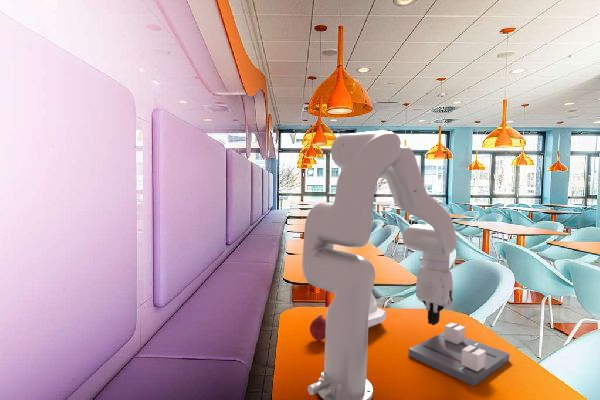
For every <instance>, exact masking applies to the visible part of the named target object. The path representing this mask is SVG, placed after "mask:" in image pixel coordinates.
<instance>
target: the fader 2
mask: <svg viewBox="0 0 600 400" xmlns="http://www.w3.org/2000/svg"><path fill="white" fill-rule="evenodd" d="M485 357H486V351H484V350H482V349H479V348H478V347H474V346H471V345H469V346H467V347H465V348H464V349H462V361H461V365H463V366H465V367H468V368H470V369H472V370H475V371H477V372H478V371H479V370H481V369H482V368H483V367H485Z"/></svg>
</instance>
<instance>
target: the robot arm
mask: <svg viewBox="0 0 600 400" xmlns="http://www.w3.org/2000/svg"><path fill="white" fill-rule="evenodd" d="M330 147H331V148H330V153H331V158H332V160H333V162H334V164H335V165H336V166H337V167H338V168H340V169H341V170H340V173H339V175H338V176H337V177H338V178H337V181H336V187H335V193H334V194H335V195H334V197H335V198H334V202H319V203H317V204H315V205H314V206H313V207H312V208H311V209H310V210H309V212H308V213H307V216H306V219H305V222H304V230H303V231H304V232H303V247H302V249H303V250H302V260H301V261H302V262H301V268H302V274H303V277H304V279H305V281H306V282H307V283H308V284H309V285H311V286H312V287H316V288H318V289H320V290H321V289H322V290H323V291H327V292H330V293H332V294H334V298H333V300H332V301H331V303H330V304H329V305H328V307H327V309H326V314H325V320H326V331H325V338H324V339H325V341H324V364H323V365H324V369H323V372H321V373H320V377H319V378H318V380H317V381H316V382H313V383H311V384H310V385H308V386H307V392H308V393H309V395H310V396H314V395H315V394H318V395H319V397H320V398H322V399H323V400H372V398H373V395H374V393H373V392H374V388H373V385H372V383H371V382H370V381H369V380H368V379H367V373H368V372H367V370H368V369H367V367H368V366H367V365H368V345H369V344H368V343H369V341H368V340H369V328H368V319H369V306H370V299H371V294H372V293H373V289H374V285H375V280H376V271H375V267H374V265H373V264H372V263H371V261H370V260H368V259H367V258H366V257H364V256H361V255H360V254H359V255H358V254H356V253H351V252H347V251H344V250H343V251H341V250H336V249H334V246H335V245H336V246H340V247H345V248H351V249H352V248H353V249H354V248H355V249H358V248H359V249H360V248H363V247H364V246H366V245H367V244H368V242H369V240H370V238H371V234H372V228H373V213H374V199H375V190H376V186H377V184H378V183H377V182H378V181H379V179H385V180H386V182H387V185H388V188H389V190H390V193H391V196H392V199H393V201H394V204H395V205H396V206H397V207H398V209H400V210H402V211H404V212H405V213H407V214H408V215H409V214H410V215H411V216H412V217H416V218H418V219H420V220H421V221H423V222H425V223H426V224H418V223H416V224H415V223H414V224H410V225H408V226H407V227H406V228H405V229H404V230H403V232H402V237H401V238H402V242H403V244H404V245H405V247H407V248H408V249H410V250H413V251H418V252H422V256H421V257H419V262H421V264H422V265H421V266H419V268H418V273H417V277H416V284H415V296H416V297H417V300H418V301H419V302H422V303H423V304H424V306H425V309H426V310H427V324H429V325H431V326H435V325H437V324H439V322H440V315H441V314H440V313H441V311H443V310H448V311H449V310H451V309H452V308H453V305H452V302H453V298H454V285H453V275H452V271H451V270H450V257H451V256H450V255H451V254H452V253H453V252H454V251H455V249H456V245H457V234H456V230H455V226H454V222H453V219H452V217H451V215H450V214H449V212H448V211H447V210H446V209H445V208H444V207H443V206H442V204H441V203H439V202H438V201H437V200H435V199H434V198H433V197H432V196H431V195H429V194H428V193H427V190H426V186H425V184H424V181H423V177H422V174H421V171H420V168H419V164H418V161H417V158H416V155H415V152H414V151H413V149H411V148H410V147H408V146H405V145H402V143H401V139H400V137H399V136H398V134H396V132H393V131H391V130H390V131H388V130H374V131H373V130H372V131H363V132H354V133H353V132H352V133H345V134H341V135H339V136H337V137H336V138H335V139H334V140H333V142H332V144H331V146H330Z"/></svg>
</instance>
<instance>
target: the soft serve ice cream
mask: <svg viewBox="0 0 600 400" xmlns="http://www.w3.org/2000/svg"><path fill="white" fill-rule="evenodd" d="M386 318H387V312H386V310H384V309H381V308H380V307H378V302H377V301H376V299H375V296H374V293H373V292H372V294H371V299H370V306H369V319H368V329H369V328H371V327H375V326H376V325H378V324H381V323H383V322H384V321H385V319H386Z"/></svg>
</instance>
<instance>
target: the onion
mask: <svg viewBox="0 0 600 400" xmlns="http://www.w3.org/2000/svg"><path fill="white" fill-rule="evenodd" d="M325 331H326V318H324V317H323V314H321V313H320V314H318V316H317V317H316V318H314V319H313V320H312V321H311V323H310V327H309V332H310V335H311V337H312V338H313V339H315V340H316V341H317V342H322V341H323V340H324V339H325Z"/></svg>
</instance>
